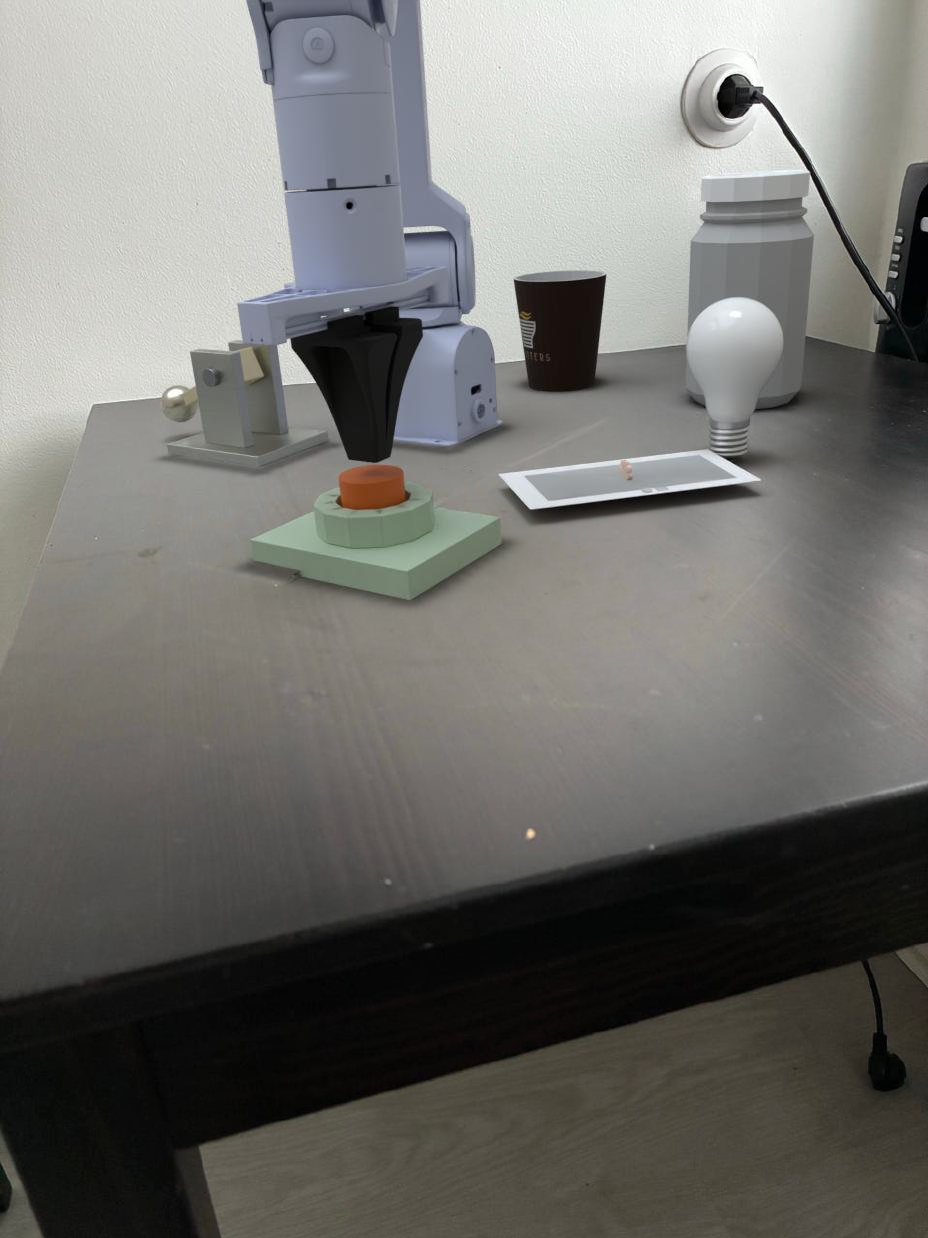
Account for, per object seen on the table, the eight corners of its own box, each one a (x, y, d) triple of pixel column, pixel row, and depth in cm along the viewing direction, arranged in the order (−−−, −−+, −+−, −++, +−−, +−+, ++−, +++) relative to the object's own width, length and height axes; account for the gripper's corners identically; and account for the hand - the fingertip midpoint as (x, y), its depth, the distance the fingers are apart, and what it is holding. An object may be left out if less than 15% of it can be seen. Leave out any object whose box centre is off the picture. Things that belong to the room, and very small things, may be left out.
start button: (418, 498, 56) (416, 468, 55) (379, 517, 53) (376, 486, 53) (368, 490, 58) (365, 461, 57) (328, 509, 55) (324, 478, 55)
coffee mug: (611, 390, 93) (611, 277, 88) (518, 395, 93) (514, 283, 89) (597, 367, 103) (597, 265, 99) (514, 371, 103) (511, 270, 99)
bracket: (168, 458, 79) (149, 352, 76) (240, 434, 85) (225, 335, 82) (260, 472, 74) (243, 359, 71) (329, 445, 80) (317, 340, 77)
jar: (663, 396, 89) (668, 177, 82) (752, 382, 92) (765, 170, 85) (730, 417, 81) (743, 175, 73) (826, 400, 84) (848, 167, 77)
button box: (501, 544, 57) (499, 486, 56) (410, 601, 51) (404, 537, 49) (354, 519, 63) (348, 465, 62) (254, 567, 56) (244, 508, 55)
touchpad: (498, 489, 67) (497, 458, 66) (706, 464, 69) (708, 434, 69) (530, 526, 60) (529, 492, 59) (760, 497, 62) (763, 463, 62)
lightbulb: (780, 451, 72) (793, 291, 67) (767, 475, 66) (780, 303, 62) (691, 446, 74) (698, 291, 70) (672, 469, 69) (678, 303, 64)
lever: (163, 430, 82) (147, 396, 82) (190, 422, 85) (175, 388, 84) (242, 386, 75) (225, 348, 75) (269, 378, 78) (253, 341, 77)
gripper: (369, 184, 56) (390, 421, 62) (173, 200, 46) (221, 486, 51) (473, 178, 53) (486, 431, 58) (288, 195, 42) (326, 503, 48)
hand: (369, 458), depth 55 cm, fingers closed
